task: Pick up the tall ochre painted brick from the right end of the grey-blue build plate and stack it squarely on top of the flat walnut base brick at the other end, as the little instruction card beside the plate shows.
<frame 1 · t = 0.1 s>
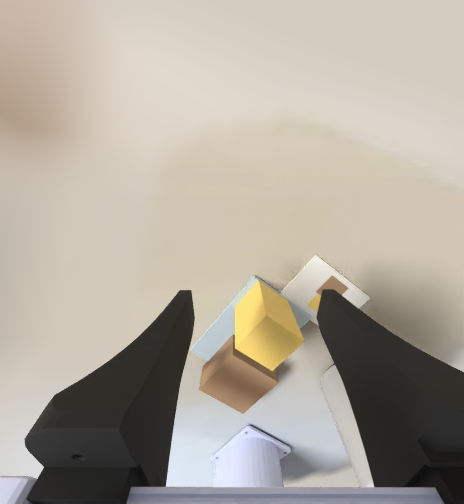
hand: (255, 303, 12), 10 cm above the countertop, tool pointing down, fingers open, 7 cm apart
instruction card: (323, 296, 24), on the countertop
walnut base brick: (237, 363, 26), point 1 cm above the countertop, touching build plate
build plate: (248, 331, 26), on the countertop
ochre brick: (261, 303, 24), point 1 cm above the countertop, touching build plate
beverage can: (343, 374, 28), on the countertop
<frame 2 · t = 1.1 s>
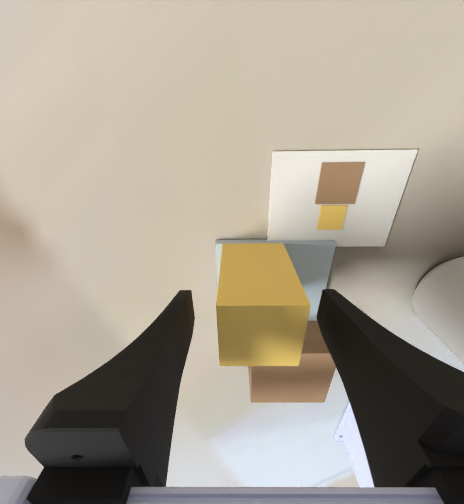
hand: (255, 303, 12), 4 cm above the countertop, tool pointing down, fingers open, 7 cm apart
instruction card: (333, 202, 14), on the countertop
walnut base brick: (283, 346, 19), point 1 cm above the countertop, touching build plate
build plate: (268, 306, 18), on the countertop
ochre brick: (251, 268, 16), point 1 cm above the countertop, touching build plate
beverage can: (446, 284, 17), on the countertop
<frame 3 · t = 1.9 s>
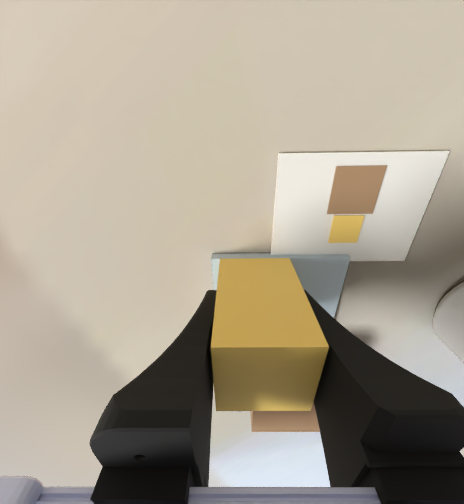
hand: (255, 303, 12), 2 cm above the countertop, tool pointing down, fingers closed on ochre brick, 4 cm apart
instruction card: (347, 212, 12), on the countertop
walnut base brick: (288, 367, 18), point 1 cm above the countertop, touching build plate
build plate: (271, 325, 16), on the countertop
ochre brick: (253, 286, 14), point 1 cm above the countertop, touching build plate, gripper
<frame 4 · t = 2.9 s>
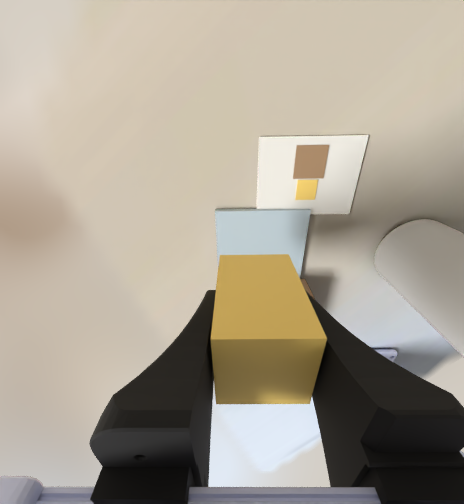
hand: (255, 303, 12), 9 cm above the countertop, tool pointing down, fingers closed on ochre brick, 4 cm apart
instruction card: (307, 177, 18), on the countertop
build plate: (259, 267, 22), on the countertop
ochre brick: (253, 282, 14), point 7 cm above the countertop, touching gripper
beverage can: (403, 247, 21), on the countertop
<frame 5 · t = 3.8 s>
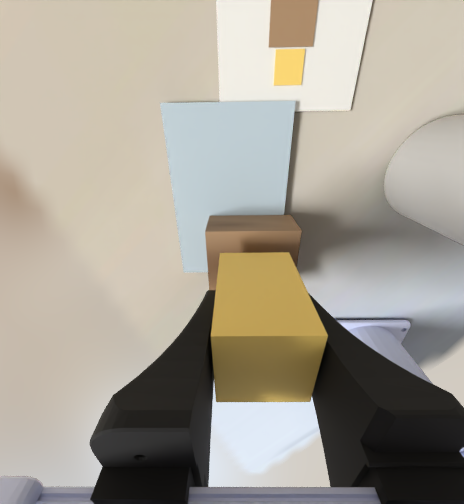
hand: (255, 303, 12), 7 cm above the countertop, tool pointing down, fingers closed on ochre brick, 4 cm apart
instruction card: (289, 48, 12), on the countertop
walnut base brick: (249, 251, 18), point 1 cm above the countertop, touching build plate
build plate: (229, 199, 16), on the countertop
ochre brick: (253, 280, 14), point 5 cm above the countertop, touching gripper
beverage can: (423, 169, 16), on the countertop
when the fingers open (7 cm above the countertop, at t = 4.2 s): ochre brick drops 1 cm, resting on walnut base brick.
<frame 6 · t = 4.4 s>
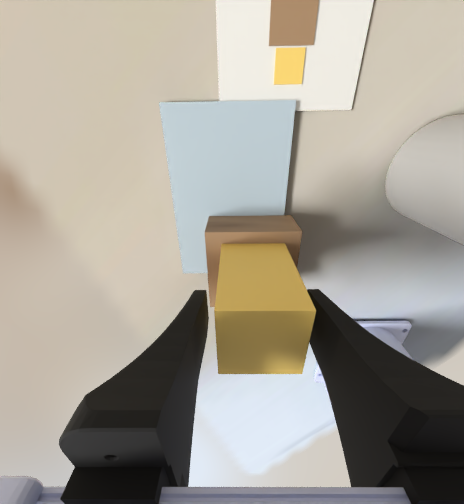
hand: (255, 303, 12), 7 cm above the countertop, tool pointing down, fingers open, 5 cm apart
instruction card: (289, 47, 12), on the countertop
walnut base brick: (249, 251, 18), point 1 cm above the countertop, touching build plate, ochre brick
build plate: (229, 200, 16), on the countertop
ochre brick: (252, 270, 15), point 4 cm above the countertop, touching walnut base brick
beverage can: (424, 169, 15), on the countertop
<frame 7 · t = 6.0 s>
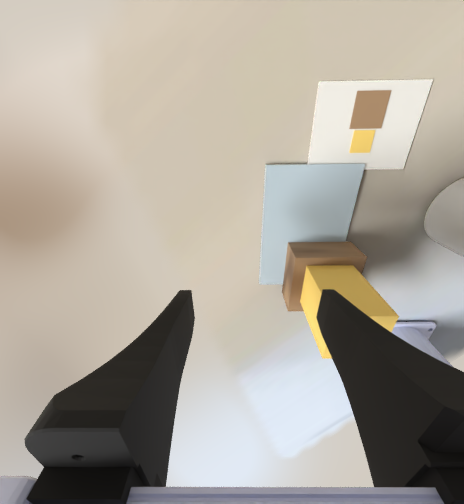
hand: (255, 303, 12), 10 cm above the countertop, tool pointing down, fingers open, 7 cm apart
instruction card: (363, 128, 17), on the countertop
walnut base brick: (314, 268, 23), point 1 cm above the countertop, touching build plate, ochre brick
build plate: (303, 230, 21), on the countertop
ochre brick: (325, 284, 20), point 4 cm above the countertop, touching walnut base brick
beverage can: (453, 208, 21), on the countertop
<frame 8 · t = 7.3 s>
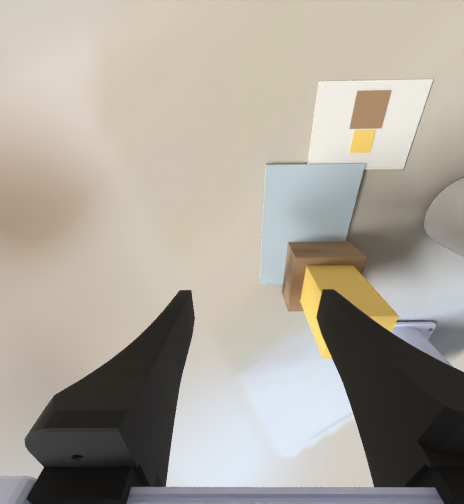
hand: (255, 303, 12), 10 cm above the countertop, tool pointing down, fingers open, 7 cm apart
instruction card: (363, 128, 17), on the countertop
walnut base brick: (314, 268, 23), point 1 cm above the countertop, touching build plate, ochre brick
build plate: (303, 230, 21), on the countertop
ochre brick: (325, 284, 20), point 4 cm above the countertop, touching walnut base brick
beverage can: (453, 208, 21), on the countertop
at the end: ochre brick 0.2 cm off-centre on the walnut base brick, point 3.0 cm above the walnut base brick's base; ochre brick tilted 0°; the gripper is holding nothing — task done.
